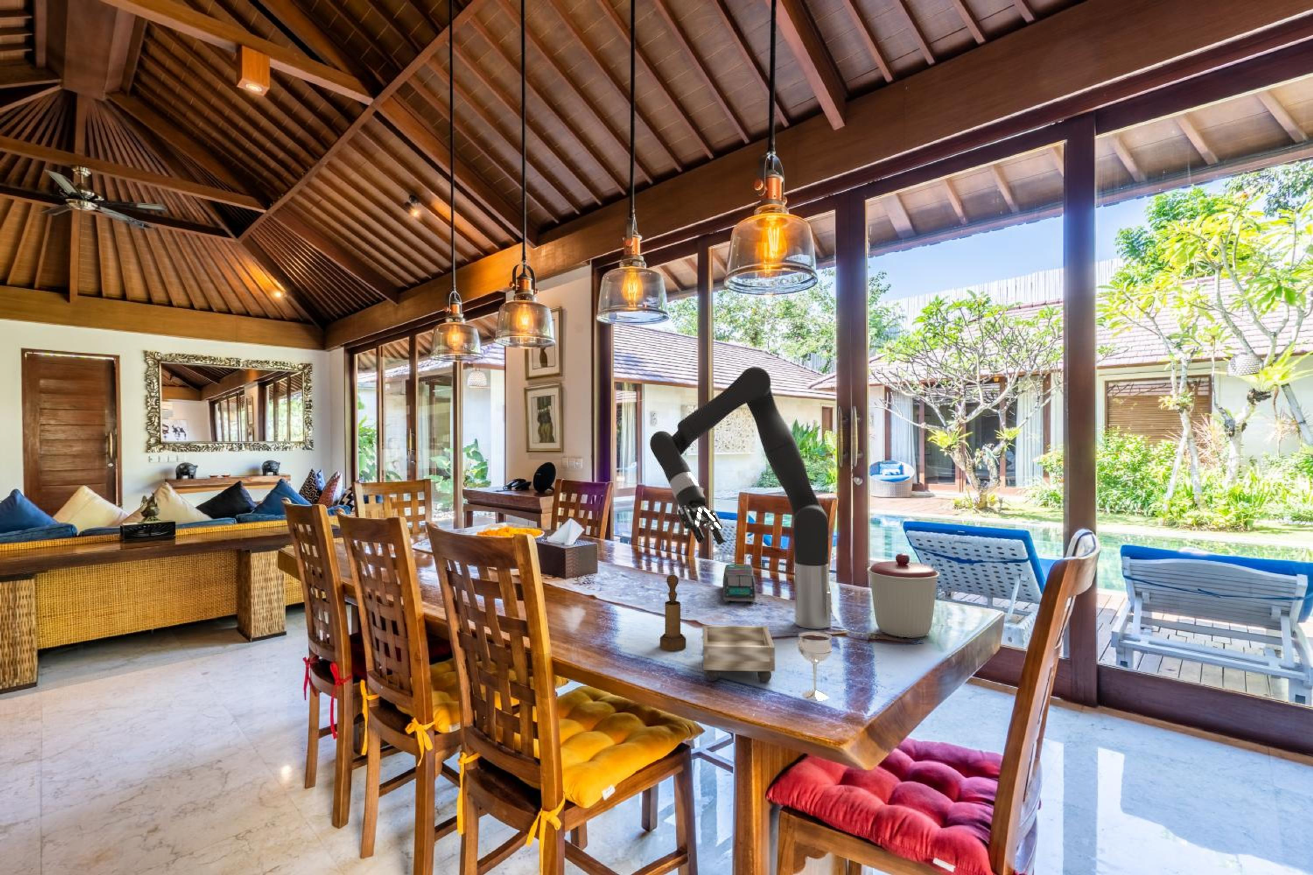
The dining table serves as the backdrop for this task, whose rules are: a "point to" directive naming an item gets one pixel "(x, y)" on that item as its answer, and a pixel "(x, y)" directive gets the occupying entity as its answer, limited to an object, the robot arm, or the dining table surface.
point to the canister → (903, 596)
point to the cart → (738, 650)
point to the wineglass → (815, 655)
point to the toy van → (739, 583)
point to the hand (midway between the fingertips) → (712, 542)
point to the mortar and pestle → (672, 620)
